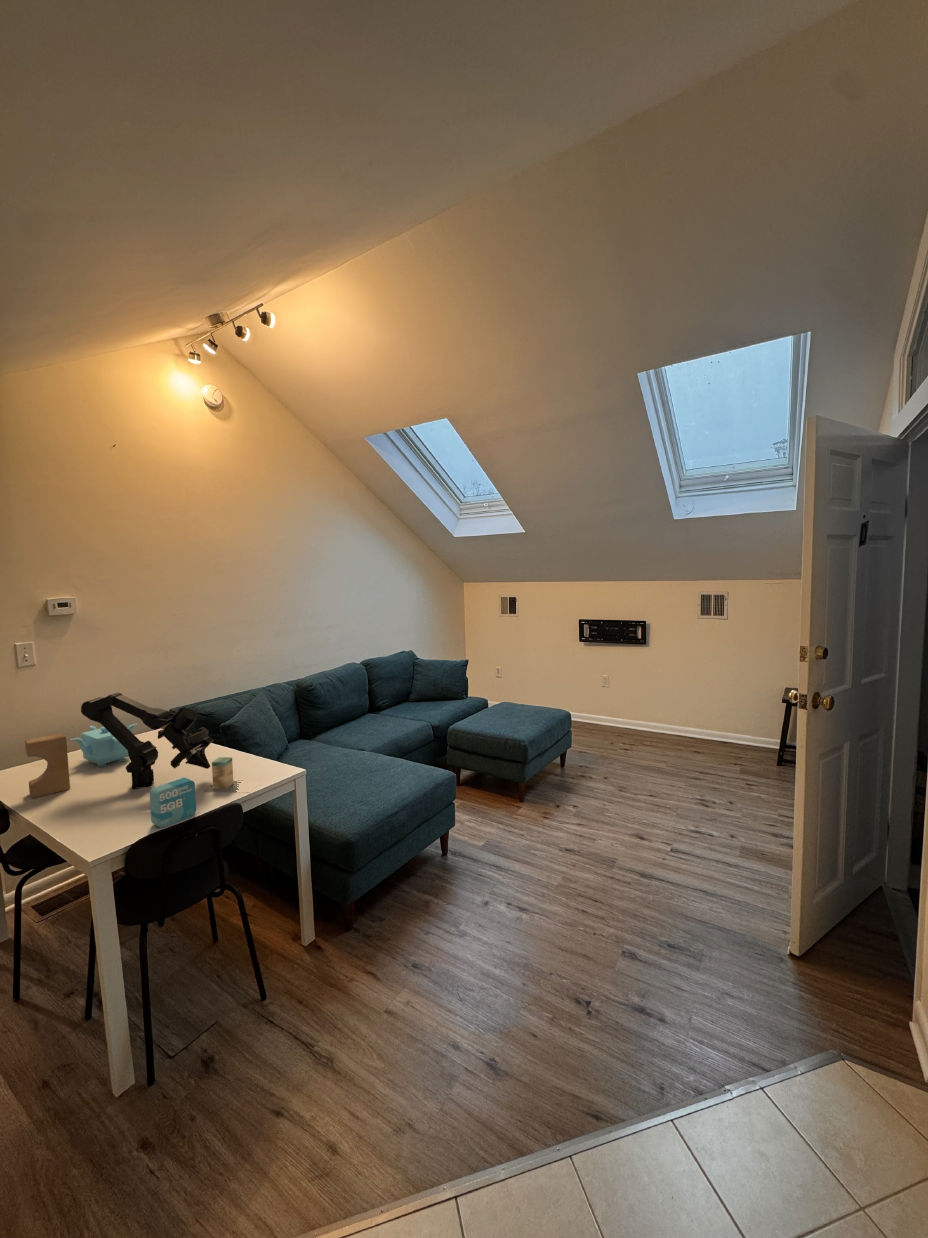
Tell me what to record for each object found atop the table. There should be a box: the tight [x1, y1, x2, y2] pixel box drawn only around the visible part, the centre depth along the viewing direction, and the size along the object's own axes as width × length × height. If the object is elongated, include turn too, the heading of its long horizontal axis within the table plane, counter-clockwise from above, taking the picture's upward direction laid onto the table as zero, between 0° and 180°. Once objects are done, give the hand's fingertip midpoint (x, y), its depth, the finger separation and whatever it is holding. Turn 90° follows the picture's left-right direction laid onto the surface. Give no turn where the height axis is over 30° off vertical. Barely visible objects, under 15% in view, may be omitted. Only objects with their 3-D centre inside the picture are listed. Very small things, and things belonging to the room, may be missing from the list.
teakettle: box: [69, 723, 138, 768], centre depth 213 cm, size 19×19×15 cm
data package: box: [149, 777, 197, 829], centre depth 164 cm, size 12×4×12 cm, turn 146°
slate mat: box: [203, 779, 241, 794], centre depth 188 cm, size 17×10×1 cm, turn 86°
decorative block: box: [24, 732, 71, 799], centre depth 184 cm, size 11×6×20 cm, turn 134°
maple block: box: [211, 756, 234, 789], centre depth 188 cm, size 5×5×10 cm
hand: (209, 767), depth 188 cm, fingers closed
